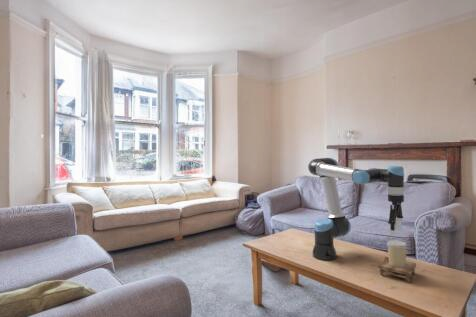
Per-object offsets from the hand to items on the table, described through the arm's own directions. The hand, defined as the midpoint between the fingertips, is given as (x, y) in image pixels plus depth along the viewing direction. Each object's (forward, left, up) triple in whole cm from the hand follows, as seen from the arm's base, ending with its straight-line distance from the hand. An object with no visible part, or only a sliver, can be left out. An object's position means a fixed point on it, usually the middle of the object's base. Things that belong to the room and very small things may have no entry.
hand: (395, 232), depth 146 cm
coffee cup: (0, 0, -18) cm, 18 cm away
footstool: (0, 0, -23) cm, 23 cm away
